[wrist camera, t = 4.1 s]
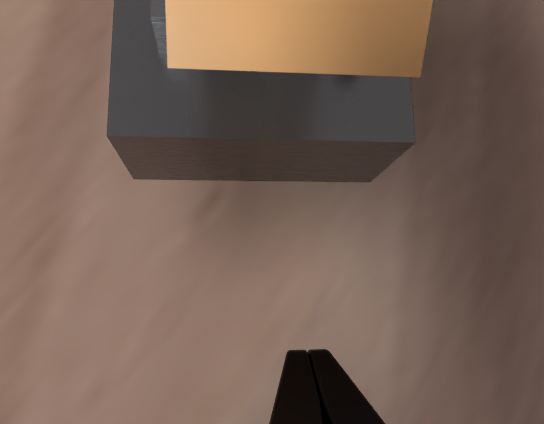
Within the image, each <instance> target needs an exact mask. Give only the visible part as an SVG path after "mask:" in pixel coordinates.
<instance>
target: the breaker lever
mask: <svg viewBox="0 0 544 424" xmlns="http://www.w3.org/2000/svg"><path fill="white" fill-rule="evenodd" d="M432 4H433V0H165V10H166V38H167V67H168V68H179V69H206V70H233V71H260V72H288V73H315V74H342V75H369V76H396V77H421V71H422V65H423V59H424V53H425V47H426V41H427V34H428V28H429V22H430V16H431V10H432Z"/></svg>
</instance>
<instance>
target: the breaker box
mask: <svg viewBox="0 0 544 424" xmlns="http://www.w3.org/2000/svg"><path fill="white" fill-rule="evenodd" d="M107 137H108V139H109V140H110V142H111V143H112V145H113V147H114V148H115V150H116V151H117V153H118V155H119V156H120V158H121V159H122V161H123V163H124V164H125V166H126V167H127V169H128V171H129V172H130V174H131V175H132V177H133V179H161V180H243V181H325V182H371V181H372V180H373V179H374V178H375V177H376V176H378V175H379V174H380V173H381V172H382V171H383V170H384V169H386V168H387V167H388V166H389V165H390V164H391V163H393V162H394V161H395V160H396V159H397V158H398V157H399V156H401V155H402V154H403V153H404V152H405V151H406V150H407V149H409V148H410V147H411V146H412V145H413V144H414V143H416V142H415V130H414V117H413V105H412V93H411V81H410V77H396V76H369V75H342V74H315V73H288V72H260V71H233V70H206V69H179V68H168V67H167V38H166V10H165V0H114V13H113V31H112V49H111V68H110V86H109V104H108V122H107Z"/></svg>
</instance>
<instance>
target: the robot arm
mask: <svg viewBox="0 0 544 424" xmlns="http://www.w3.org/2000/svg"><path fill="white" fill-rule="evenodd" d="M269 424H385V423H384V422H383V420H382V419H381V418H380V416H379V415H378V414H377V412H376V411H375V410H374V409H373V407H372V406H371V405H370V403H369V402H368V401H367V400H366V398H365V397H364V396H363V394H362V393H361V392H360V390H359V389H358V388H357V387H356V385H355V384H354V383H353V381H352V380H351V379H350V377H349V376H348V375H347V374H346V372H345V371H344V370H343V368H342V367H341V366H340V365H339V363H338V362H337V361H336V359H335V358H334V357H333V355H332V354H331V353H330V352H329V351H328V350H326V349H315V350H309V351H308V352H307V351H306V350H289V351H288V352H287V354H286V358H285V362H284V366H283V370H282V374H281V378H280V382H279V386H278V390H277V394H276V399H275V403H274V407H273V411H272V415H271V419H270V423H269Z"/></svg>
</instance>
